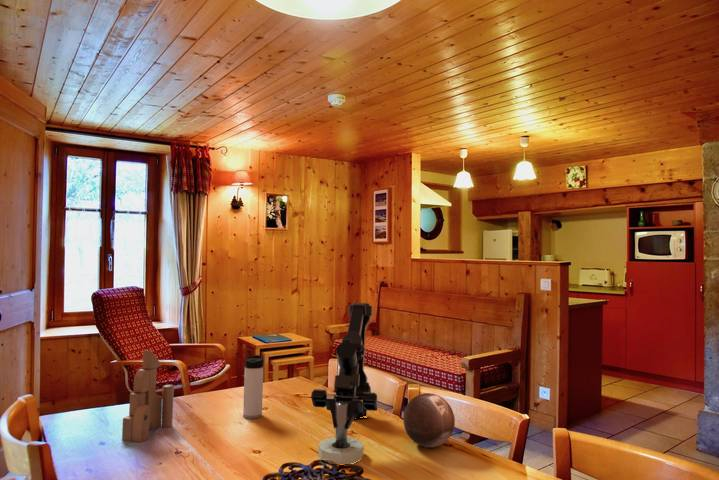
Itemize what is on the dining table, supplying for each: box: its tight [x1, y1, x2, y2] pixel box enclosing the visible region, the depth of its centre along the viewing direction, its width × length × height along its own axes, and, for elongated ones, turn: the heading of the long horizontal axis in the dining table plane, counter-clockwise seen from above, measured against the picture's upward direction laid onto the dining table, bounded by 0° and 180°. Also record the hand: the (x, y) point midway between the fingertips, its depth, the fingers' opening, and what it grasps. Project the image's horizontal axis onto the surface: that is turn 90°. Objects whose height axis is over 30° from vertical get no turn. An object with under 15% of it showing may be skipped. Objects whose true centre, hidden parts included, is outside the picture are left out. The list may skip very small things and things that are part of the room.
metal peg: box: [335, 402, 348, 449], centre depth 134 cm, size 3×3×13 cm
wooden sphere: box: [402, 392, 456, 448], centre depth 143 cm, size 15×15×15 cm
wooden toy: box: [121, 349, 175, 443], centre depth 148 cm, size 16×7×25 cm, turn 166°
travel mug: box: [242, 354, 264, 420], centre depth 165 cm, size 6×7×20 cm
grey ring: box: [318, 436, 365, 464], centre depth 133 cm, size 12×12×3 cm
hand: (340, 428), depth 132 cm, fingers closed on metal peg, 3 cm apart
